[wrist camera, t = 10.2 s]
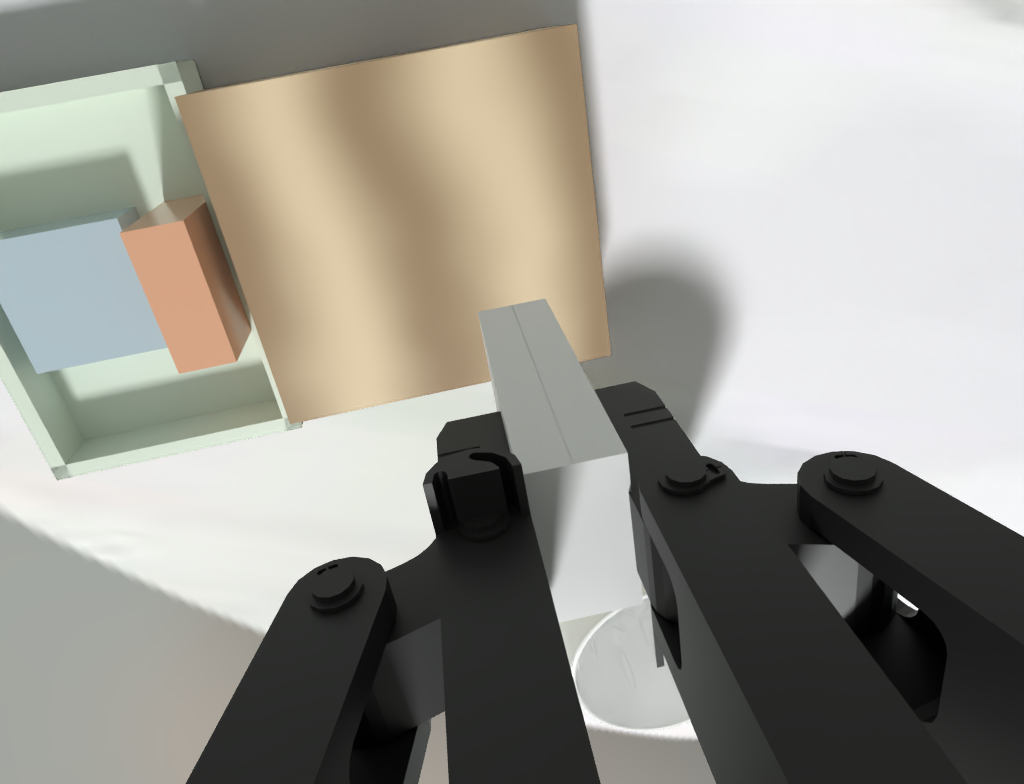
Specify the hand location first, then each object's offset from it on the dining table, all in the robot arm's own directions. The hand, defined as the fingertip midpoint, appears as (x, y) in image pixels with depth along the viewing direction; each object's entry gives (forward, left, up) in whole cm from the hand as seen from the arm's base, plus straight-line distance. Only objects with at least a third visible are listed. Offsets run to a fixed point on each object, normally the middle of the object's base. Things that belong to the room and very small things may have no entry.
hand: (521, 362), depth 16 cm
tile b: (+14, 0, -13) cm, 19 cm away
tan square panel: (+2, 0, -15) cm, 15 cm away
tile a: (+9, 0, -12) cm, 15 cm away
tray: (+13, 0, -15) cm, 20 cm away
